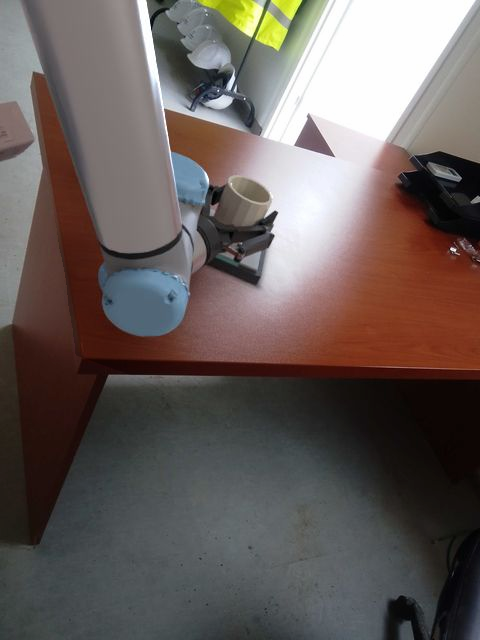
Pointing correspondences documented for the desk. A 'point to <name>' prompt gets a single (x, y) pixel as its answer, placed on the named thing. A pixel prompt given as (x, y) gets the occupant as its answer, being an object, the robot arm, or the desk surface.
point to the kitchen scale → (240, 264)
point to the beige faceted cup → (243, 202)
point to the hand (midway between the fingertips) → (252, 202)
